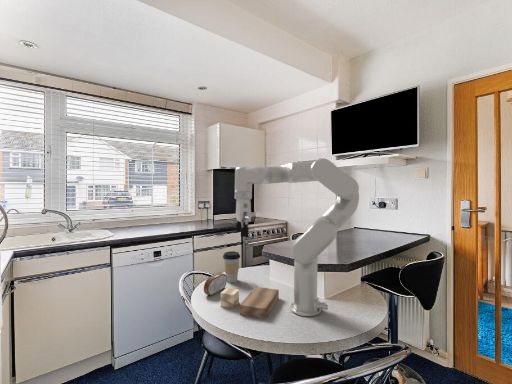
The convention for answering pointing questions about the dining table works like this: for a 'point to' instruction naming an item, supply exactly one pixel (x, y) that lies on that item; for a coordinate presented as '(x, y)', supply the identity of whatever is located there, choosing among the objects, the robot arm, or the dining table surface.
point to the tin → (215, 284)
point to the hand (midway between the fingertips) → (241, 234)
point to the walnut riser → (259, 302)
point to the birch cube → (229, 298)
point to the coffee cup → (231, 265)
